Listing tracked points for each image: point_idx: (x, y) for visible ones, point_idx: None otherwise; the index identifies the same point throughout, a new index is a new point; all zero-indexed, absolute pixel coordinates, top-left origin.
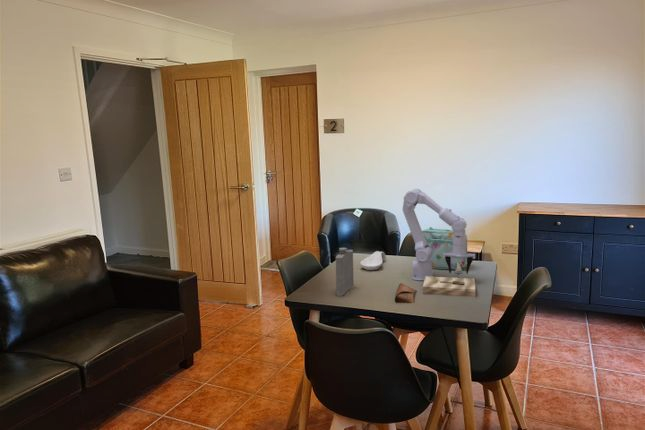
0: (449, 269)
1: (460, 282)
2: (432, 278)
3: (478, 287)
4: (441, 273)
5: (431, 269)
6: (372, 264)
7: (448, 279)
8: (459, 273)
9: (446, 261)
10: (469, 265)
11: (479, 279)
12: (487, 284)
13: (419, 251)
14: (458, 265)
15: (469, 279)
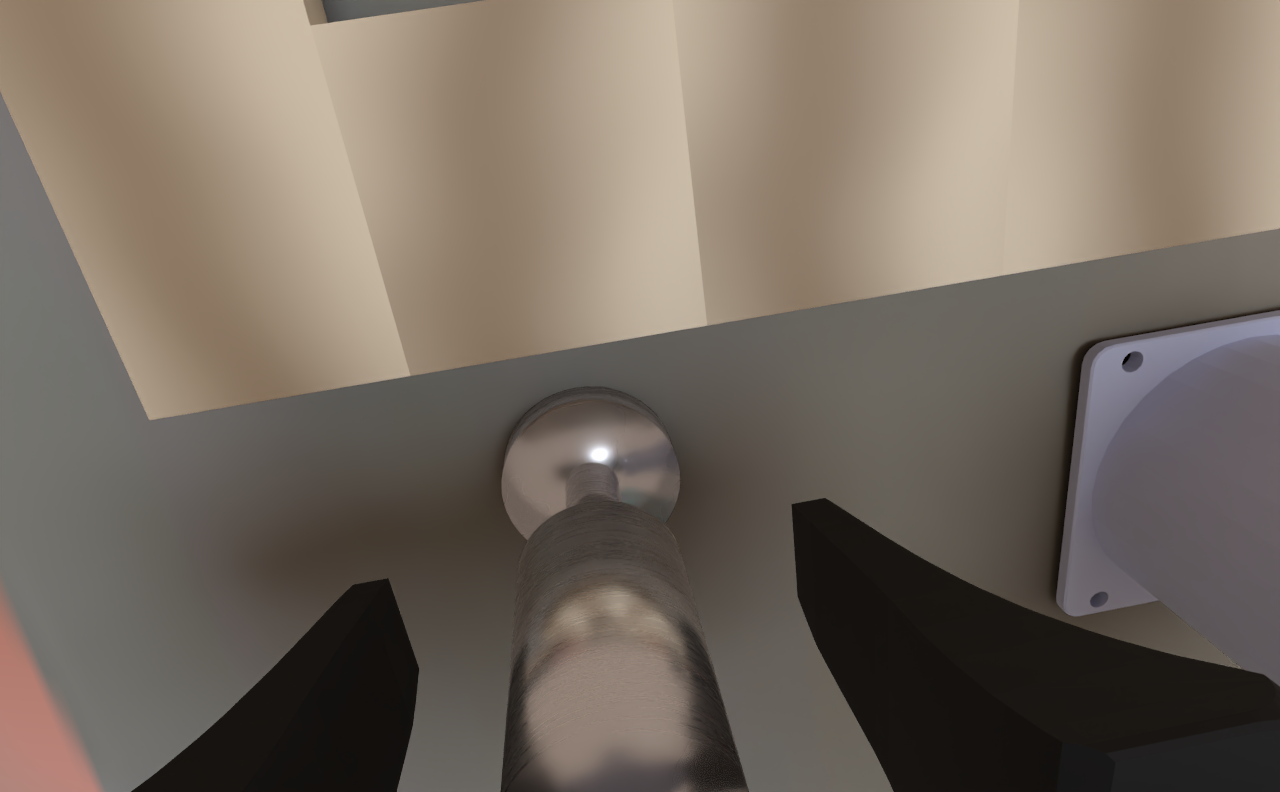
0: (866, 533)
1: (436, 11)
2: (1222, 61)
3: None
4: None
5: (1269, 556)
6: None
7: (799, 105)
8: (565, 524)
9: (1188, 659)
10: (167, 772)
11: None
12: (5, 518)
13: None
14: (611, 688)
15: (246, 308)
